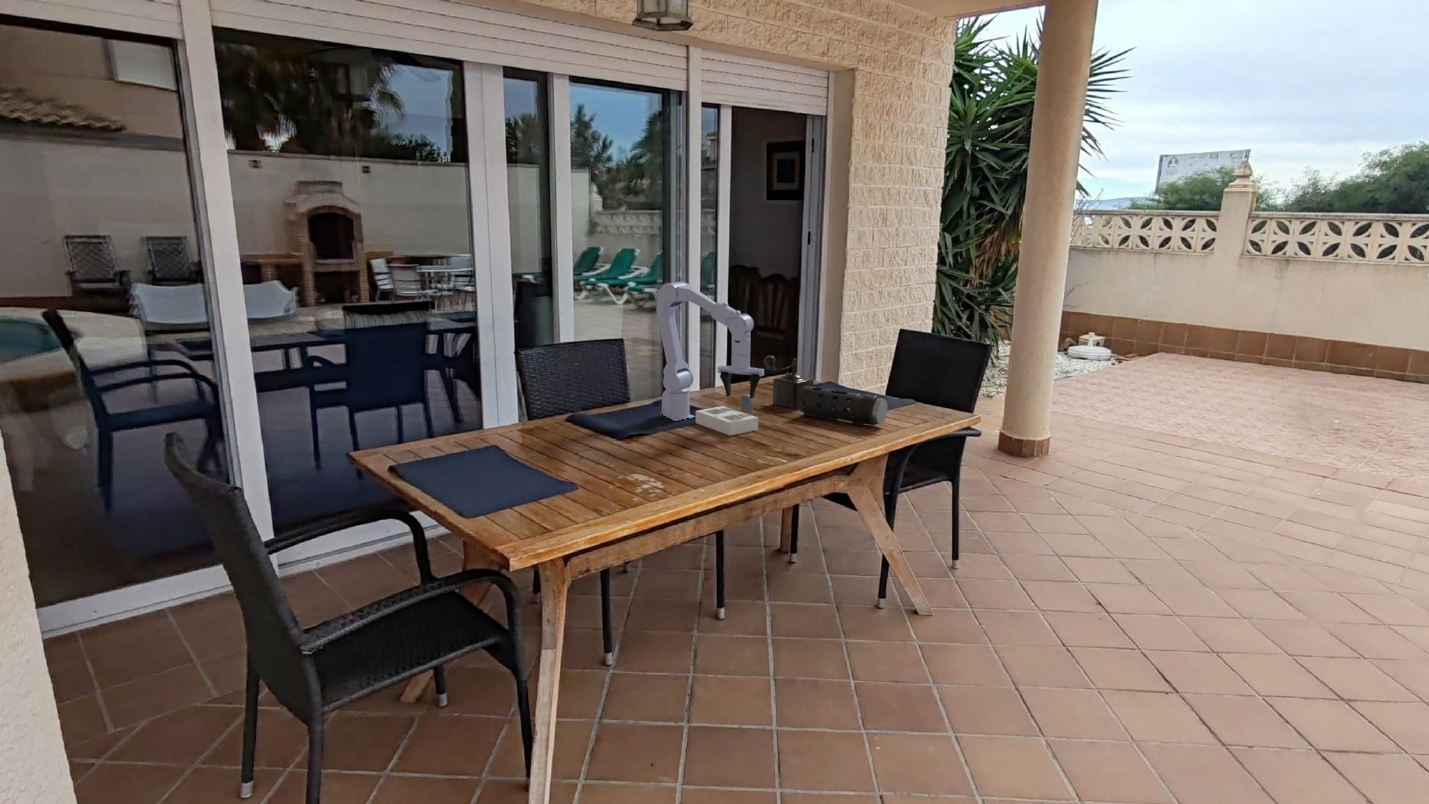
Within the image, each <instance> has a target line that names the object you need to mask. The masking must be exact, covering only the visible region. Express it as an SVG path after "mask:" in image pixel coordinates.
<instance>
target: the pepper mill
mask: <svg viewBox="0 0 1429 804" xmlns="http://www.w3.org/2000/svg"><path fill="white" fill-rule="evenodd" d="M775 361H776V358H775V357H774V356H773V355H766V356H765V358H764V359H763V363H764V364H765V365H766V369H767V370H768V371H769V370H770V371H774V372H783V371H785V374H783V375H781V376H780V377H775V378H773V379H772V380H773V386H772V387H773V388H772V390H773V392H772V404H773V405H775V406H778V407H781V408H785V409H789V410H799V409H798V404H797V401H798V395H799V392H800V390H801V389H802V388H803V387H804V386H811V387H814V382H815V381H814V379H812V378H808V377H805V376H804V377H803V376H802V375H801V374H799V373H797V372H796V365H797V359H796V358H793V359H792V363H791V364H790V365H789V366H786V367H783V368H776V366H775V365H774V364H775ZM791 368H792V372H789V371H787V370H790V369H791ZM808 394H810V393H806V395H808ZM804 402H805V401H804ZM805 403H806V404H808V402H807V401H806V402H805Z"/></svg>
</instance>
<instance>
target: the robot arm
mask: <svg viewBox="0 0 1429 804" xmlns="http://www.w3.org/2000/svg"><path fill="white" fill-rule="evenodd" d="M657 298H658V299H657V302H656V303H657V304H656V308H655V309H656V317H657V319H658V320H657V321H658V324H659V325H658V326H659V331H660V336H661V341H662V346H663V350H664V356H665V360H666V365H665V367H664V368H663V380H662V384H663V386H664V388H665V390H664V391H663V393H662V395H661V414H664V415H663V416H666V417H667V419H668V418H670V419H669V420H671V419H672V420H671V421H674V422H679V421H683V420H682V419H684V420H687V419H686V418H689V419H693V417H695V418H696V415H693V414H690V388H691V387H690V386H692V385H693V383H694V376H693V372H692V371H691V370H690V367H689V364H688V363H687V362H686V361H685V359H684V357H683V352H682V351H683V350H682V345H681V341H680V337H679V331H678V327H677V321H676V315H675V312H676V310H677V309H678V308H679V307H680V305H681V304H683V303H684V302H691V303H692V304H694V305H696V306H698V307H700V308H702V309H704V310H706V311H707V312H710V314H711V315H710V317H711V318H712V319H713V320H715V321H717V322H719V323H720V324H722V325H723V326H724V327H726V328H728V330H729V332H730V333H731V365H719V366H717V374H720V375H719V377H720V380H721V382H722V384H723V387H724V390H725V395H726V397H730V396H731V395H732V388H731V387H732V385H731V384H732V375H733V374H734V375H735V374H736V375H747V376H748V375H749V377H748V378H749V387H750V388H749V394H750V398H755V393H756V389H757V386H758V384H759V381H760V380H761V378H762V377H763V376H764V375H765V369H764V368H758V367H757V368H756V367H752V366H751V332H752V330H753V329H754V326H755V322H754V319H753V317H752V316H750V315H749V314H748V313H742V312H741V311H740V310H736V309H734V308H733V307H730V305H729V303H728V302H727V301H724V302H723V301H720V302H719V301H718V302H715V301H714V300H713V299H711V298H709V296H707V295H705V294H704V293H703V292H701V291H699V290H698V289H696V288H695V287H694V286H693V285H691V284H689V283H687V282H686V281H684V280H683V281H681V280H680V281H677V282H670V283H669V282H667V283H664V284H663V285H661V287H660V288H659V289H658V291H657ZM663 416H662V417H663ZM666 417H665V418H666ZM678 420H679V421H678Z"/></svg>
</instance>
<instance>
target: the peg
mask: <svg viewBox="0 0 1429 804" xmlns="http://www.w3.org/2000/svg"><path fill="white" fill-rule="evenodd" d="M739 396H740V397H739V399H740V400H739V402H740V403H739V405H740V406H739V411H740V412H743V413H747V414H750V415H752V416H753V401H754V400H753V398H750V393H749V394H748V393H744V394H740V395H739Z"/></svg>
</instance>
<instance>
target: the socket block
mask: <svg viewBox="0 0 1429 804" xmlns="http://www.w3.org/2000/svg"><path fill="white" fill-rule="evenodd" d="M695 424H697V425H699V426H703V427H705V428H709V429H711V430H714V431H717V432H720V433H722V434H725V435H727V436H734V435H740V434H744V433H750V432H754V431H758V430H759V417H758V416H754V415H753V414H752V415H750V414H747V413H743V412H740V410H738V409H737V410H736V409H733V408H732V407H728V406H724V405H721V406H716V407H712V408H704V409H699V410H695Z"/></svg>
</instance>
